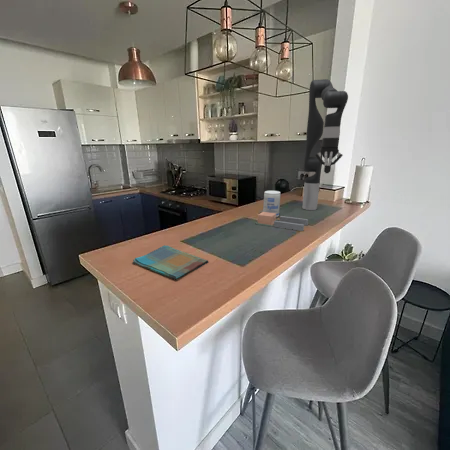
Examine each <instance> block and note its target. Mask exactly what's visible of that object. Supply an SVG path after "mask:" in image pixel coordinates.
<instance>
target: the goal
mask: <svg viewBox="0 0 450 450" xmlns="http://www.w3.org/2000/svg"><path fill="white" fill-rule="evenodd" d="M276 221H280V219H277V218H276ZM255 225H260V226H266V227H274V224H273V225H267V224H261V223H258V220H257V221H256V222H255Z"/></svg>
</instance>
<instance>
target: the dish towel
mask: <svg viewBox="0 0 450 450" xmlns="http://www.w3.org/2000/svg"><path fill="white" fill-rule="evenodd" d="M208 263H209V260H208V259H205V258H202V257H200V256H196V255H193V254H192V253H189V252H185V251H181V250H180V249H176V248H174V247H173V246H170V245H162V246H160V247H159V248H157V249H154V250H152V251H150V252H148V253H147V254H144V255H142V256H138V257H135V258H134V259H133V260H132V264H133V265H136V266H137V267H138V266H139V267H141V268H144V269H147V270H150V271H153V272H155V273H156V274H158V275H159V274H160V275H161V276H164V277H166V278H169V279H172V280H174V281H176V282H177V281H180V280H181V279H183V278H184V277H187V276H188V275H190V274H191V273H193V272H195V271H197V270H198V269H200V268H202V267H204V266H205V265H207V264H208Z"/></svg>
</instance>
